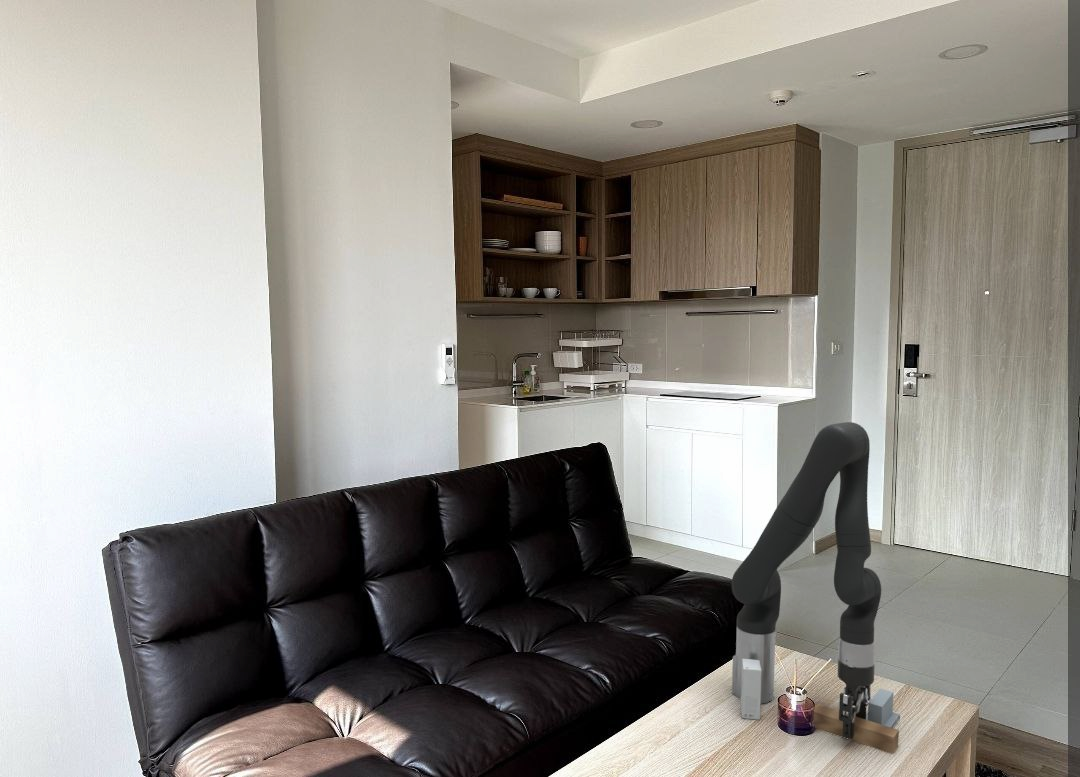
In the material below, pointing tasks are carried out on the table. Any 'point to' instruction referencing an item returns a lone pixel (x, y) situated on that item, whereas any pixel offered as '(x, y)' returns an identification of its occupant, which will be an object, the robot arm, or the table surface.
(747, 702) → the skincare box
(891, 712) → the ridge block
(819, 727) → the walnut batten
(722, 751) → the table surface
